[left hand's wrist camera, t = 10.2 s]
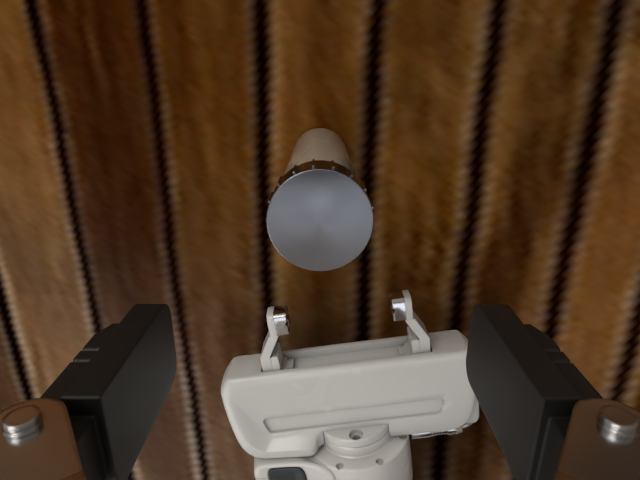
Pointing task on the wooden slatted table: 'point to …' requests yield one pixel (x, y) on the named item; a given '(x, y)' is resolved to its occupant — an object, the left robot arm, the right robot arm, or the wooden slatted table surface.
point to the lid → (320, 215)
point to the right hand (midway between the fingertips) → (337, 301)
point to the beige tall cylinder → (319, 149)
